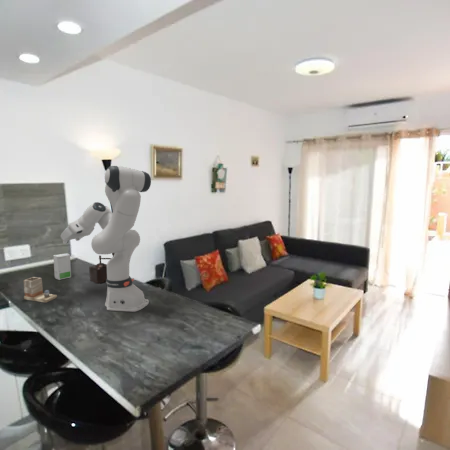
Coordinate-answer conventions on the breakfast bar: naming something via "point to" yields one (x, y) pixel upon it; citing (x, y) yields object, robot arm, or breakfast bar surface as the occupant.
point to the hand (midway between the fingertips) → (70, 241)
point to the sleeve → (33, 287)
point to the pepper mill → (99, 271)
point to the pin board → (42, 297)
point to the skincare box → (62, 266)
